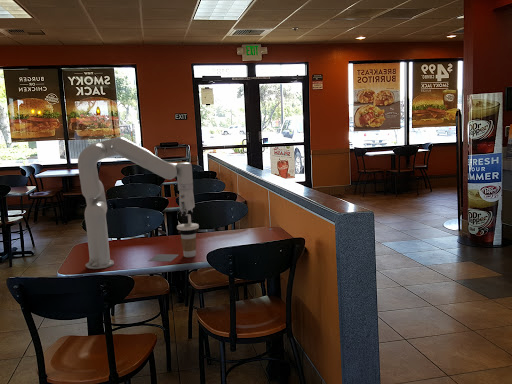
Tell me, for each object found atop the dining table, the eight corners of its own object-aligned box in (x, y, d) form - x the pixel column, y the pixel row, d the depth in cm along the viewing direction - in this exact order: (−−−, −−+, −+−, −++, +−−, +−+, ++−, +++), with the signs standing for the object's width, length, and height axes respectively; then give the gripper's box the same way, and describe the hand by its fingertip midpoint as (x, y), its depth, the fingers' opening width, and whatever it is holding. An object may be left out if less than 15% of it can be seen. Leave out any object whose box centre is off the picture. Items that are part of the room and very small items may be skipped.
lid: (194, 230, 234) (193, 217, 233) (173, 230, 236) (172, 217, 235) (201, 225, 244) (200, 212, 243) (181, 225, 246) (180, 212, 245)
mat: (170, 262, 233) (170, 261, 233) (148, 262, 235) (148, 260, 235) (179, 255, 245) (179, 254, 244) (157, 255, 247) (157, 254, 247)
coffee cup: (182, 259, 237) (180, 230, 235) (180, 255, 246) (179, 226, 243) (198, 257, 239) (197, 228, 237) (197, 253, 247) (195, 225, 245)
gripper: (186, 189, 228) (188, 225, 230) (198, 184, 245) (200, 218, 247) (172, 189, 229) (174, 225, 232) (184, 184, 246) (186, 218, 249)
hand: (187, 221), depth 240 cm, fingers open, 7 cm apart
